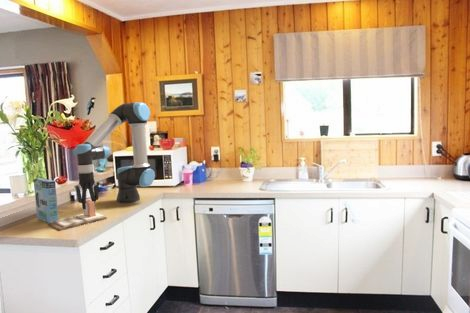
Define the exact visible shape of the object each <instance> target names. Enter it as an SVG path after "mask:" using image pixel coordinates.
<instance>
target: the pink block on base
mask: <svg viewBox="0 0 470 313" xmlns="http://www.w3.org/2000/svg"><path fill="white" fill-rule="evenodd" d="M86 203H87V207H88V215H85V212H84V211H83V213H81V214H77V215H75V217H78V218H80V219H83V220H85V221H91V220H95V219H99V218H103V217H105V215H104V214H101V213H98V212H96V206H95V205H96V202H93V201H92V200H91V199H90V200H88V199H86Z"/></svg>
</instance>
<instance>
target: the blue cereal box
mask: <svg viewBox="0 0 470 313" xmlns="http://www.w3.org/2000/svg"><path fill="white" fill-rule="evenodd" d="M33 184H34V185H33V186H34V189H33V190H34V198H35V210H36V218H37V219H39V220H40V221H41V220H42V221H44V222H45V223H47V224H48V223H52V222H54V221H55V220H59V211H58V210H59V209H58V199H57V198H58V197H57V189H56V187H57V186H56V181H55V180H51V179H47V178H42V177H41V178H40V177H39V178H34V179H33Z"/></svg>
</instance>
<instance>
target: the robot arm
mask: <svg viewBox="0 0 470 313" xmlns="http://www.w3.org/2000/svg"><path fill="white" fill-rule="evenodd" d="M150 117H151V111H150V108H149V106H148V105H147V104H146V103H145V102H138V101H137V102H126V103H122V104H120V105H119V106H117V107H116V108H114V109H113V110H112V111H111V112H110V113H109V114H108V117H107V119H106V120H105V121H103V123H101V125H100V126H99V127H98V128H97V129H96V130H95V131H94V132H93V133H92V134H91V135H90V136H89V137H88V138H87V139H86V140H85V141H84V142H83V143H81V144H77V145H76V146H75V147H74V149H73V156H74V157H75V158H76V159H77V169H78V170H77V171H78V180H79V181H78V184H76V185H74V188H75V192H76V197H77V201H78V203H80V204H82V206H81V207H82V210H83V213H84V212H85V215H88V207H87V203H86V200H87V191H88V192H89V195H90V196H89V197H90V201H93V202H95V203H96V202H97V201H98V200H99V186H100V182H98V181H95V178H94V167H93V166H94V164H93V161H98V160H104V159H108V158H109V157H110V155H111V150H110V147H108V145H101V144H102V143H104V141H106V139H107V138H108V137H109V136H110V135H111V134H112V133H113V132H114V130H116V129H117V127H120V126H121V125H123V124H124V123H125V122H127V124H128V126H130V129H131V130H130V131H131V141H132V144H131V145H132V155H133V156H132V157H133V165H129V166H123V167H118V168H117V170H116V178H117V188H118V189H117V190H118V191H117V194H116V202H117V203H119V204H128V203H134V202H137V201H140V200H141V197H140V196H141V195H140V194H139V191H138V189H137V187H141V188H143V187H144V188H145V187H150V186H152V184H153V183H154V181H155V179H156V178H155V177H156V175H155V171H154V170H153V169H152V168H151V164H150V163H149V162H148V151H147V137H146V125H147V124H148V120H149V119H150ZM93 186H94V187H93ZM95 207H96V204H95Z"/></svg>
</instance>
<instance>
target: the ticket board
mask: <svg viewBox="0 0 470 313" xmlns="http://www.w3.org/2000/svg"><path fill="white" fill-rule="evenodd" d="M107 219H108V218H107V216H104V217H103V218H99V219H95V220H91V221H85V220H83V219H80V218H78V217H76V215H75V216H74V215H73V216H69V217H65V218H58V220H55V221H54V222H52V223H47V226H49V227H51V228H54V229H56V230H58V231H60V232H61V231H64V230H69V229H72V228H77V227H81V226H85V225H88V223H89V224H93V223H96V221H97V222H102V221H105V220H107ZM92 222H93V223H92ZM84 224H85V225H84ZM80 225H81V226H80Z"/></svg>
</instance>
